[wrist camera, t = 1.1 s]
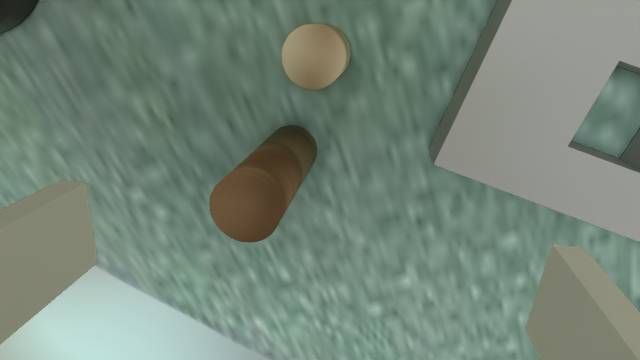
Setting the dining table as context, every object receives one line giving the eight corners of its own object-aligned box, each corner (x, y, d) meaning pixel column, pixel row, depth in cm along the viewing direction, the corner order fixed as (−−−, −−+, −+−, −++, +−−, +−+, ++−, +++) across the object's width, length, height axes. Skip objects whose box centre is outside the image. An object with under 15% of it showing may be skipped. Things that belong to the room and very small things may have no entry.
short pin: (291, 69, 31) (274, 77, 27) (307, 16, 30) (292, 14, 25) (340, 87, 31) (331, 98, 27) (359, 35, 30) (352, 36, 25)
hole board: (428, 148, 32) (433, 164, 28) (519, -47, 26) (540, -59, 23) (677, 241, 31) (715, 270, 27) (821, 60, 26) (893, 66, 22)
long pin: (263, 162, 34) (202, 226, 23) (276, 118, 33) (218, 164, 22) (308, 179, 34) (268, 252, 23) (323, 135, 33) (288, 191, 22)
